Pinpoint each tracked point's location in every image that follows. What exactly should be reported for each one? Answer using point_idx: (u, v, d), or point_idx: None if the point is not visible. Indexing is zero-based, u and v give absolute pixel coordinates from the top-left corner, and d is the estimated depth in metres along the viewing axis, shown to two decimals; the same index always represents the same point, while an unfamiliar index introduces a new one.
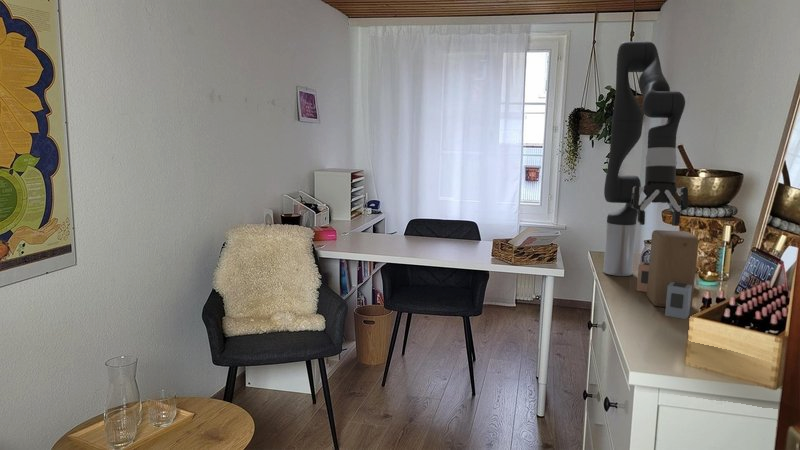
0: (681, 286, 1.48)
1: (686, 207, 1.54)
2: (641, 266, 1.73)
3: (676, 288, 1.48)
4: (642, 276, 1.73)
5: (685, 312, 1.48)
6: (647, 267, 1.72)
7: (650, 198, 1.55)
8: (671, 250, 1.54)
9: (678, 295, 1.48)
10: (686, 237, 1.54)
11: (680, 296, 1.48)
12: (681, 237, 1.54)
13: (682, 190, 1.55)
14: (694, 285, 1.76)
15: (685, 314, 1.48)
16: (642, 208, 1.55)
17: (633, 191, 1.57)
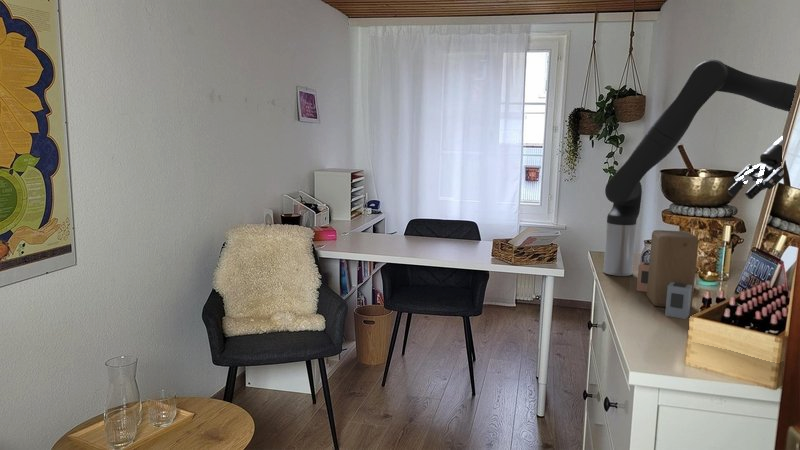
0: (681, 286, 1.48)
1: None
2: (641, 266, 1.73)
3: (676, 288, 1.48)
4: (642, 276, 1.73)
5: (685, 312, 1.48)
6: (647, 267, 1.72)
7: None
8: (671, 250, 1.54)
9: (678, 295, 1.48)
10: (686, 237, 1.54)
11: (680, 296, 1.48)
12: (681, 237, 1.54)
13: None
14: (694, 285, 1.76)
15: (685, 314, 1.48)
16: None
17: (781, 174, 1.50)
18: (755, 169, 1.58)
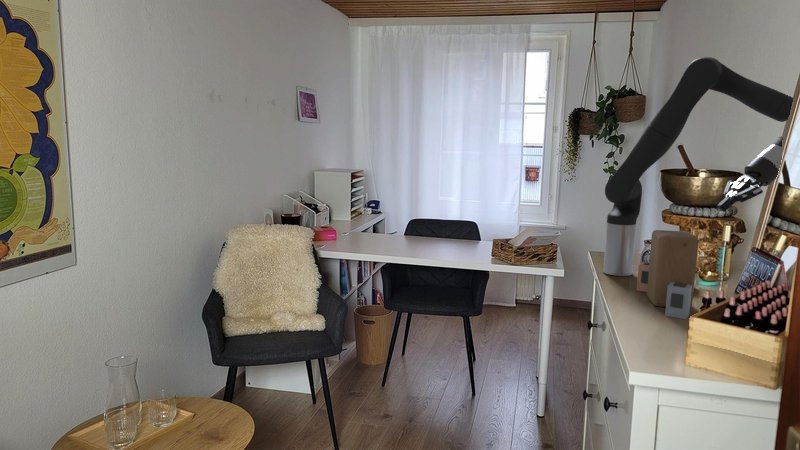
0: (681, 286, 1.48)
1: None
2: (641, 266, 1.73)
3: (676, 288, 1.48)
4: (642, 276, 1.73)
5: (685, 312, 1.48)
6: (647, 267, 1.72)
7: None
8: (671, 250, 1.54)
9: (678, 295, 1.48)
10: (686, 237, 1.54)
11: (680, 296, 1.48)
12: (681, 237, 1.54)
13: None
14: (694, 285, 1.76)
15: (685, 314, 1.48)
16: None
17: (755, 192, 1.52)
18: (741, 180, 1.58)
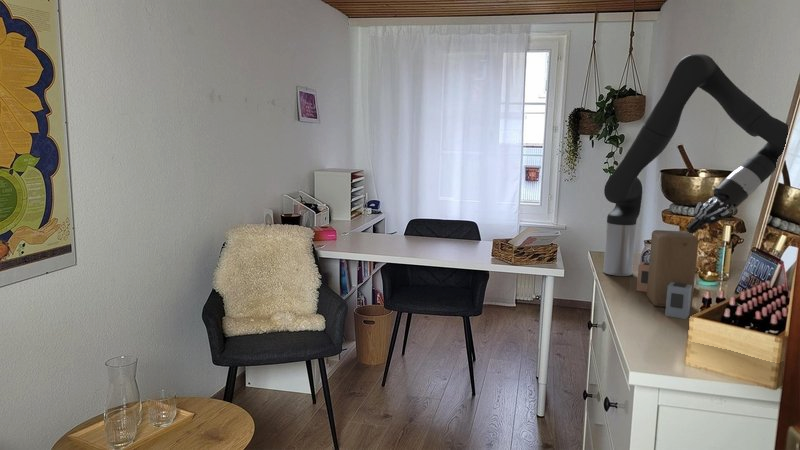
0: (681, 286, 1.48)
1: None
2: (641, 266, 1.73)
3: (676, 288, 1.48)
4: (642, 276, 1.73)
5: (685, 312, 1.48)
6: (647, 267, 1.72)
7: None
8: (671, 250, 1.54)
9: (678, 295, 1.48)
10: (686, 237, 1.54)
11: (680, 296, 1.48)
12: (681, 237, 1.54)
13: None
14: (694, 285, 1.76)
15: (685, 314, 1.48)
16: None
17: (722, 214, 1.53)
18: (710, 202, 1.58)
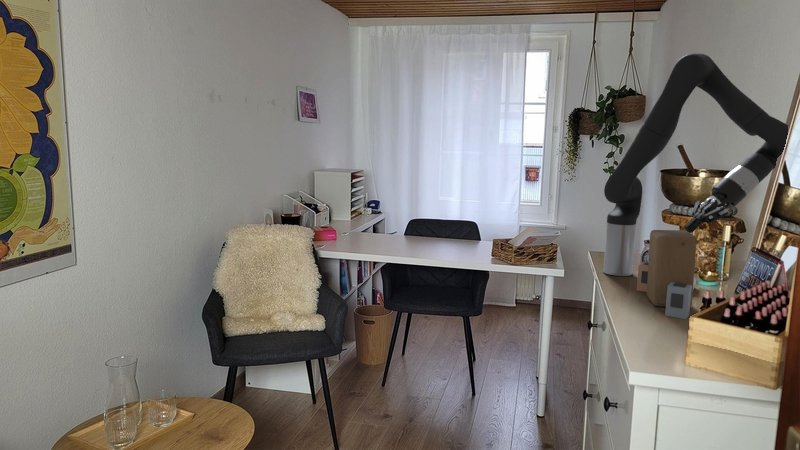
0: (681, 286, 1.48)
1: None
2: (641, 266, 1.73)
3: (676, 288, 1.48)
4: (642, 276, 1.73)
5: (685, 312, 1.48)
6: (647, 267, 1.72)
7: None
8: (669, 249, 1.54)
9: (678, 295, 1.48)
10: (684, 236, 1.54)
11: (680, 296, 1.48)
12: (679, 236, 1.54)
13: None
14: (694, 285, 1.76)
15: (685, 314, 1.48)
16: None
17: (720, 213, 1.53)
18: (708, 202, 1.58)
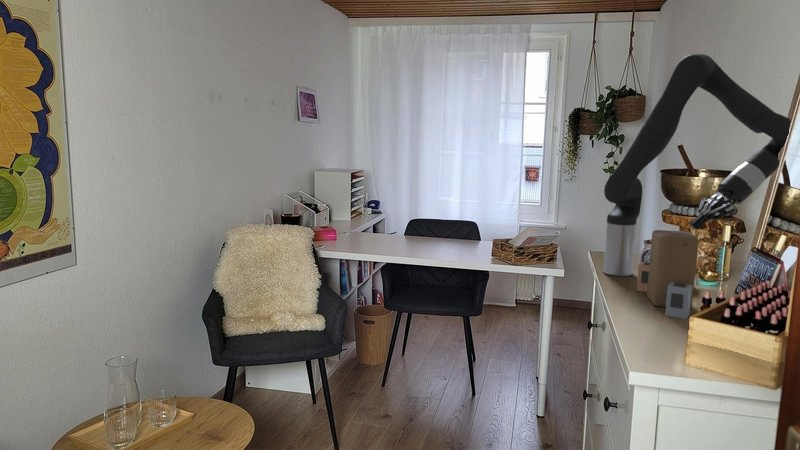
0: (681, 286, 1.48)
1: None
2: (641, 266, 1.73)
3: (676, 288, 1.48)
4: (642, 276, 1.73)
5: (685, 312, 1.48)
6: (647, 267, 1.72)
7: None
8: (671, 249, 1.54)
9: (678, 295, 1.48)
10: (686, 237, 1.54)
11: (680, 296, 1.48)
12: (681, 237, 1.54)
13: None
14: (694, 285, 1.76)
15: (685, 314, 1.48)
16: None
17: (727, 210, 1.52)
18: (714, 198, 1.58)
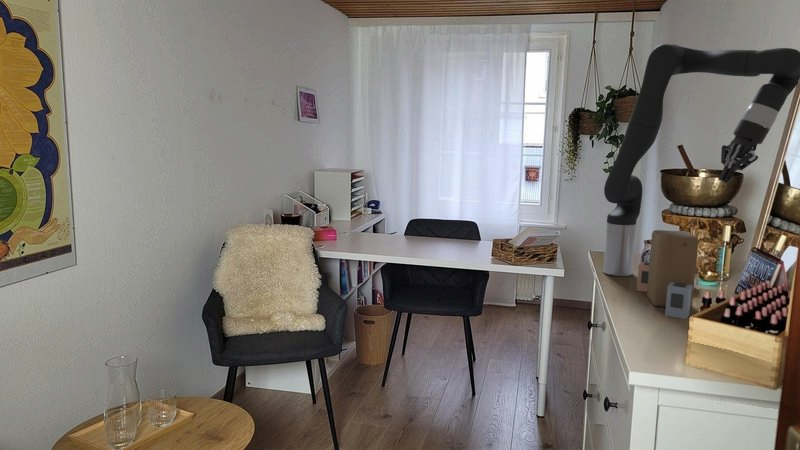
0: (681, 286, 1.48)
1: None
2: (641, 266, 1.73)
3: (676, 288, 1.48)
4: (642, 276, 1.73)
5: (685, 312, 1.48)
6: (647, 267, 1.72)
7: None
8: (671, 250, 1.54)
9: (678, 295, 1.48)
10: (686, 237, 1.54)
11: (680, 296, 1.48)
12: (681, 237, 1.54)
13: None
14: (694, 285, 1.76)
15: (685, 314, 1.48)
16: None
17: (750, 160, 1.54)
18: (734, 147, 1.58)
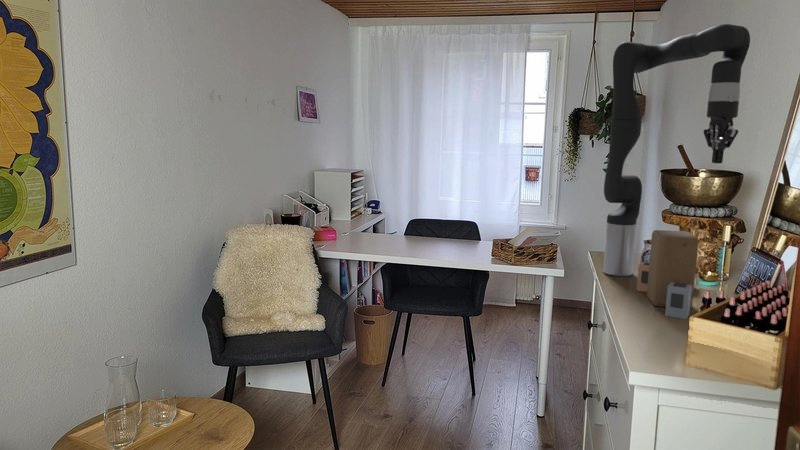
0: (681, 286, 1.48)
1: None
2: (641, 266, 1.73)
3: (676, 288, 1.48)
4: (642, 276, 1.73)
5: (685, 312, 1.48)
6: (647, 267, 1.72)
7: None
8: (671, 250, 1.54)
9: (678, 295, 1.48)
10: (686, 237, 1.54)
11: (680, 296, 1.48)
12: (681, 237, 1.54)
13: None
14: (694, 285, 1.76)
15: (685, 314, 1.48)
16: None
17: (732, 135, 1.55)
18: (713, 129, 1.61)
